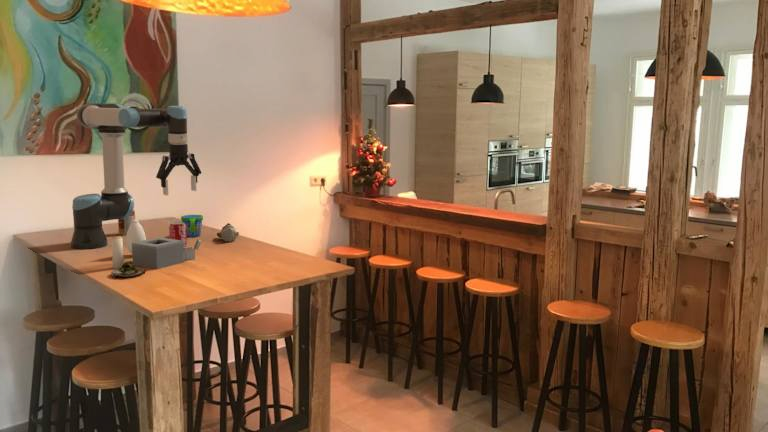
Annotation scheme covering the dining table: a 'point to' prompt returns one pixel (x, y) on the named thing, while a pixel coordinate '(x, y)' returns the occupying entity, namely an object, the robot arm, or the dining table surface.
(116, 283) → the dining table surface
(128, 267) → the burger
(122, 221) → the canned food
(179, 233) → the soda can
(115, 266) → the coin roll
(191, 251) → the lighter
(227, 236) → the ceramic sculpture
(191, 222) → the snack cup
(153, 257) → the gray square-hole box
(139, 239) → the sauce bottle
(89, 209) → the robot arm
